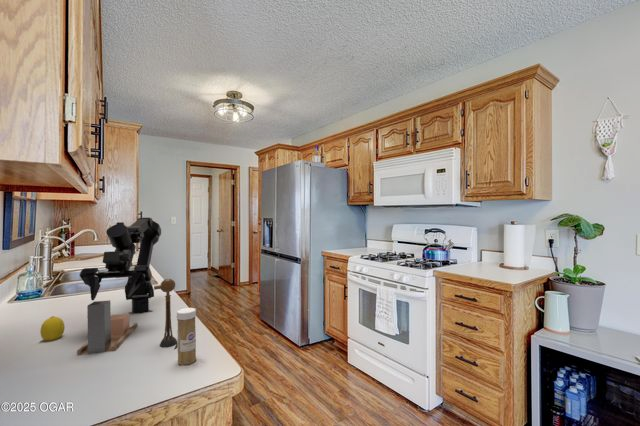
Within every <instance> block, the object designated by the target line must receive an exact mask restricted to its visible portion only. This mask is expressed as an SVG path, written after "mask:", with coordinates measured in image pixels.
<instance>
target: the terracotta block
mask: <svg viewBox="0 0 640 426" xmlns="http://www.w3.org/2000/svg"><path fill="white" fill-rule="evenodd" d="M129 327H130V314H128V313H117V314H111V336H113V335H123V334H125V333H126V332H127V331H128V330H129Z"/></svg>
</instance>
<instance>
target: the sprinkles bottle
mask: <svg viewBox="0 0 640 426" xmlns="http://www.w3.org/2000/svg"><path fill="white" fill-rule="evenodd" d="M196 316H197V309H196V308H194V307H185V308H181V309H178V310H177V311H176V319H177V320H176V321H177V331H176V332H177V333H176V334H177V338H176V340H177V343H178V347H177V364H178V365H181V366H184V365H190V364H193V363H194V362H195V361H197V356H196V354H197V353H196V351H197V350H196V348H197V334H196V318H197V317H196Z"/></svg>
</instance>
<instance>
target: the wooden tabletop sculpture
mask: <svg viewBox="0 0 640 426" xmlns="http://www.w3.org/2000/svg"><path fill="white" fill-rule="evenodd" d="M175 287H176V282H175V281H174V279H172V278H165V279H164V280H162V281H161V283H160V284H159V285H158V284H157V285H153V289H154V291H156V290H161V291H162V292H163V293H165V294H166V295H165V296H164V297H165V322H164V323H165V327H164V334H163V338H162V340H161V341H160V344H159V347H160V348H162V349H164V348H166V349H167V348H171V347H174V346H175V347H174V349H173V350H176V349H178V340H177V338H176V337H175V336H173V328H172V314H171V311H172V310H171V296H172V295H171V294H170V293H171V292H172V291H174V290H175Z"/></svg>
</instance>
